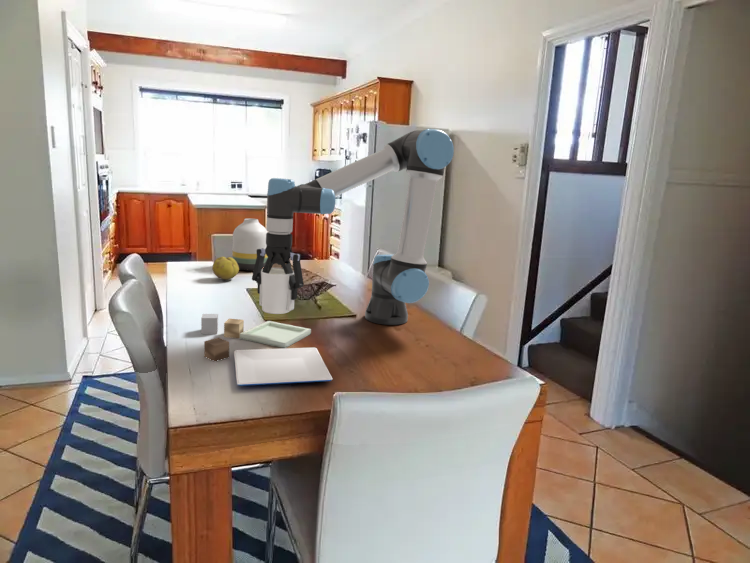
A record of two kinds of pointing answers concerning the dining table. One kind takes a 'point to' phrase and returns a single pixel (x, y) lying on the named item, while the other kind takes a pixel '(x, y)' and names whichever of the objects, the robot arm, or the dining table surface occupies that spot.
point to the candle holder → (275, 291)
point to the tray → (275, 334)
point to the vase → (248, 243)
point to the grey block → (209, 324)
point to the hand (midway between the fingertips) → (276, 307)
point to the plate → (279, 366)
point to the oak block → (233, 328)
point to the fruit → (225, 268)
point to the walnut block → (216, 349)
